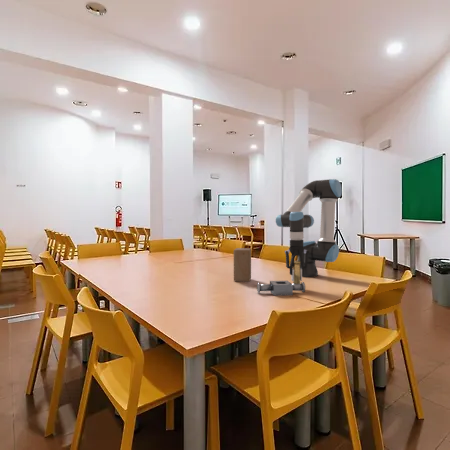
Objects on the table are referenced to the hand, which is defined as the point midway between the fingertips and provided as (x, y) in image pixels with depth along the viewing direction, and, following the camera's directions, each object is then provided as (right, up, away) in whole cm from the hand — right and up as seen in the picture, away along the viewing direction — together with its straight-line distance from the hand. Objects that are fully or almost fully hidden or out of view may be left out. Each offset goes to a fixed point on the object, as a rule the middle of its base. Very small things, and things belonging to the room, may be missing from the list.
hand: (296, 280), depth 175 cm
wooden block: (-29, -4, +22) cm, 37 cm away
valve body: (-11, -5, -10) cm, 15 cm away
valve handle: (0, -3, 0) cm, 3 cm away
